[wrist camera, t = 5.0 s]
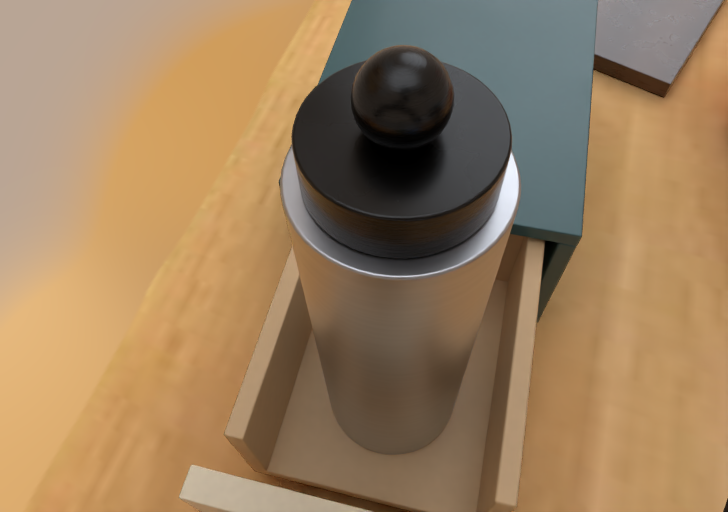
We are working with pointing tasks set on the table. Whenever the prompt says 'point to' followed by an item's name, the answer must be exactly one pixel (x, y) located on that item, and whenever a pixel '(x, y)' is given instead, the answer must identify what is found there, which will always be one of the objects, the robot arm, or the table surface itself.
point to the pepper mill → (398, 235)
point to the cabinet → (508, 92)
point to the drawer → (357, 464)
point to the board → (649, 39)
